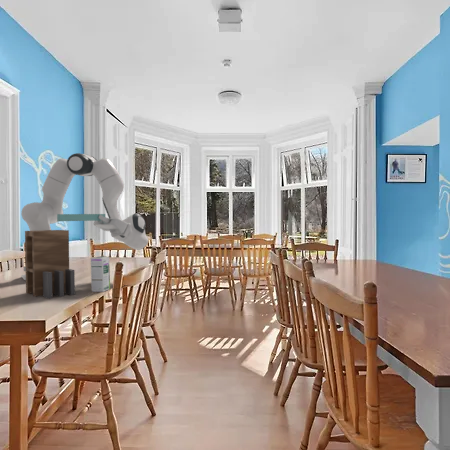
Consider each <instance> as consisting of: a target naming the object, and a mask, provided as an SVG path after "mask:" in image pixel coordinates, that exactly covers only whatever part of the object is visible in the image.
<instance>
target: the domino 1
mask: <svg viewBox="0 0 450 450" xmlns="http://www.w3.org/2000/svg"><path fill="white" fill-rule="evenodd" d="M42 297H44V298H45V299H52V298H53V294H52V272H48V271H44V272H43V295H42Z"/></svg>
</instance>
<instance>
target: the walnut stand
mask: <svg viewBox="0 0 450 450" xmlns="http://www.w3.org/2000/svg"><path fill="white" fill-rule="evenodd" d="M69 232H70V230H68V229H65V230H64V229H51V230H38V231H30V230H25V231H24V253H25V259H24V260H25V267H26V271H25V274H26V280H25V294H27V295H28V294H32V296H33V297H41V296H42V297H43V272H44V271H48V272H52V295H55V285H54V270H60V271H63V273H64V293H66V284H65V269H70V237H69V236H70V233H69Z"/></svg>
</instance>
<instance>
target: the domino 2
mask: <svg viewBox="0 0 450 450" xmlns="http://www.w3.org/2000/svg"><path fill="white" fill-rule="evenodd" d="M54 285H55V294H54V296H56V297H64V296H65V292H64V273H63V271H60V270H54Z"/></svg>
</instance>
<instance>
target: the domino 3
mask: <svg viewBox="0 0 450 450" xmlns="http://www.w3.org/2000/svg"><path fill="white" fill-rule="evenodd" d="M75 275H76V274H75V269H71V268H69V269H65V284H66V292H65V294H67V295H70V296H72V295H73V296H74V295H75V294H76V291H75V289H76V288H75V287H76V285H75Z"/></svg>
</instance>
